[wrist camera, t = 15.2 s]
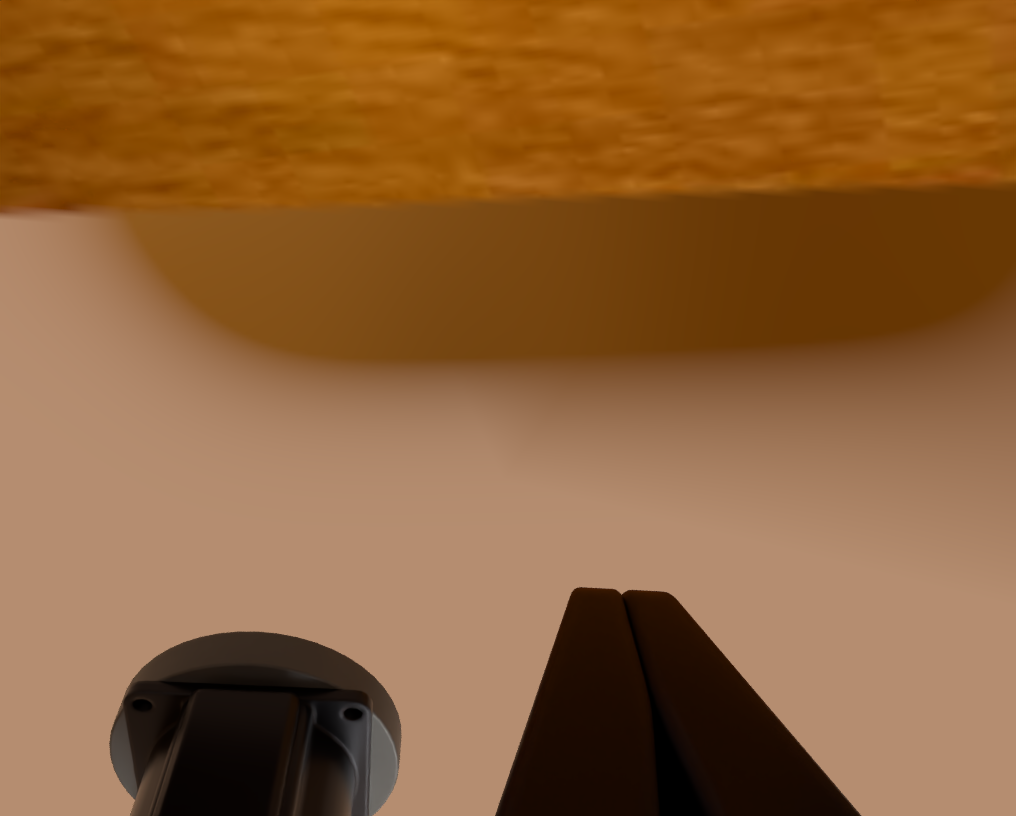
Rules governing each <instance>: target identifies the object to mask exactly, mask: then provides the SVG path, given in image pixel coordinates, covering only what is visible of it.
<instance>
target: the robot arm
mask: <svg viewBox="0 0 1016 816" xmlns="http://www.w3.org/2000/svg"><path fill="white" fill-rule="evenodd" d="M123 707H124V713H125V719H126V725H127V730H128V736H129V742H130V748H131V754H132V760H133V766H134V772H135V777H136V783H137V789H138V793H137V796H136V799H135V802H134V805H133V808H132V811H131V814H130V816H369V809H370V778H371V747H372V716H373V702H372V698H371V697H370V696H369V695H368V694H367V693H365V692H363V691H358V690H348V689H325V688H302V687H279V686H256V685H234V684H211V683H188V682H165V681H137V682H135V683H133V684H131V685H130V687H129V688H128V690H127V693H126V695H125V698H124V702H123ZM352 708H356V709H352ZM495 816H861V815H860V814H859V812H858V811H857V810H856V809H855V808H854V807H853V805H852V804H851V803H850V802H849V801H848V800H847V798H846V797H845V796H844V795H843V794H842V793H841V791H840V790H839V789H838V788H837V787H836V785H835V784H834V783H833V782H832V781H831V780H830V778H829V777H828V776H827V775H826V774H825V773H824V771H823V770H822V769H821V768H820V767H819V766H818V764H817V763H816V762H815V761H814V760H813V759H812V757H811V756H810V755H809V754H808V753H807V752H806V750H805V749H804V748H803V747H802V746H801V745H800V743H799V742H798V741H797V740H796V739H795V737H794V736H793V735H792V734H791V733H790V732H789V730H788V729H787V728H786V727H785V726H784V725H783V723H782V722H781V721H780V720H779V719H778V718H777V716H776V715H775V714H774V713H773V712H772V711H771V709H770V708H769V707H768V706H767V705H766V704H765V702H764V701H763V700H762V699H761V698H760V697H759V695H758V694H757V693H756V692H755V691H754V689H753V688H752V687H751V686H750V685H749V684H748V682H747V681H746V680H745V679H744V678H743V677H742V676H741V674H740V673H739V672H738V671H737V670H736V668H735V667H734V666H733V665H732V664H731V663H730V661H729V660H728V659H727V658H726V657H725V656H724V654H723V653H722V652H721V651H720V650H719V648H718V647H717V646H716V645H715V644H714V643H713V641H712V640H711V639H710V638H709V637H708V636H707V634H706V633H705V632H704V631H703V630H702V629H701V627H700V626H699V625H698V624H697V623H696V622H695V620H694V619H693V618H692V617H691V616H690V614H689V613H688V612H687V611H686V610H685V609H684V608H683V606H682V605H681V604H680V603H679V602H678V600H677V599H676V598H674V596H672V595H671V594H669V593H667V592H659V591H641V590H628V591H626V592H625V593H623V594H622V595H621V594H620V593H619V592H618V591H617V590H615V589H602V588H582V587H580V588H576V589H574V591H573V592H572V594H571V596H570V599H569V601H568V604H567V607H566V610H565V613H564V616H563V619H562V622H561V625H560V628H559V631H558V633H557V637H556V639H555V642H554V645H553V648H552V651H551V654H550V657H549V660H548V663H547V666H546V669H545V672H544V674H543V677H542V680H541V683H540V686H539V689H538V692H537V695H536V698H535V701H534V704H533V707H532V710H531V713H530V715H529V718H528V721H527V724H526V727H525V730H524V733H523V736H522V739H521V742H520V745H519V748H518V750H517V753H516V757H515V760H514V762H513V765H512V768H511V771H510V774H509V777H508V780H507V783H506V786H505V789H504V791H503V794H502V797H501V800H500V803H499V806H498V809H497V812H496V815H495Z"/></svg>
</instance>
